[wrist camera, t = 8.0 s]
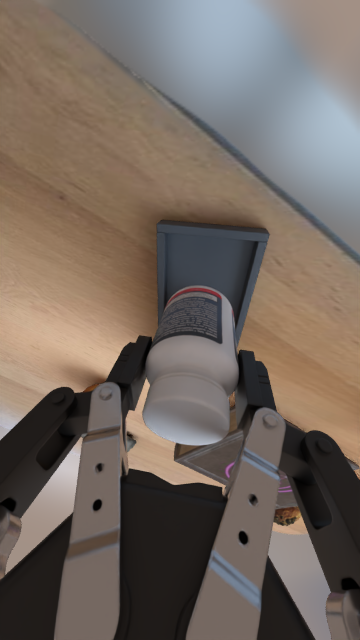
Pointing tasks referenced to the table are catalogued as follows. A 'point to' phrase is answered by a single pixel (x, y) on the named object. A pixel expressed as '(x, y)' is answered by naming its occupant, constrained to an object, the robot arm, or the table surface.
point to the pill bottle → (192, 368)
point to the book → (229, 460)
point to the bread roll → (286, 515)
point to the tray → (209, 262)
